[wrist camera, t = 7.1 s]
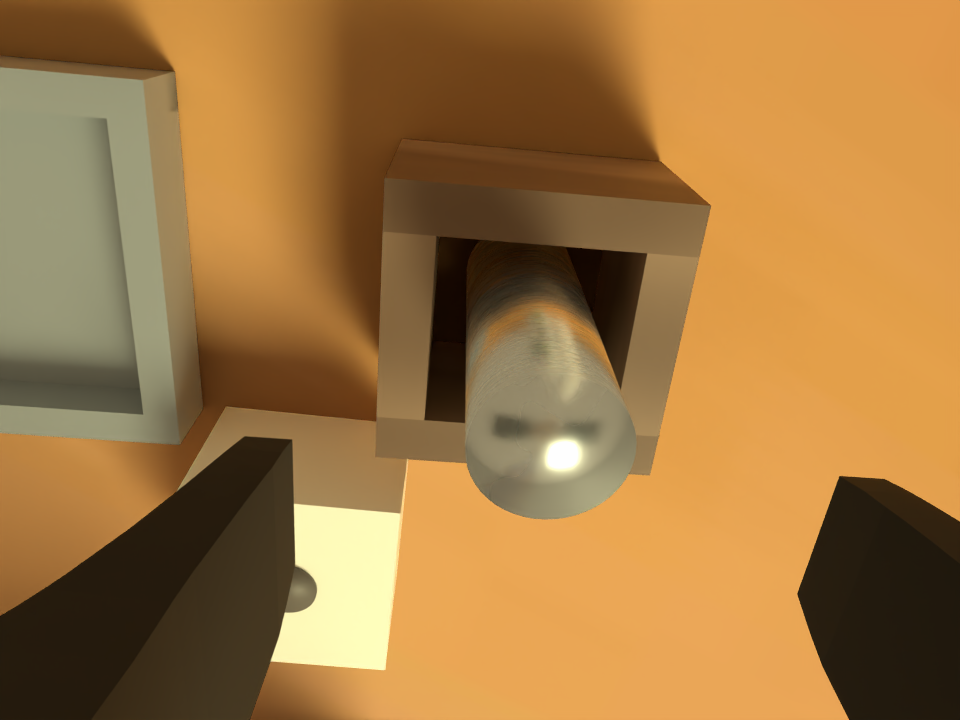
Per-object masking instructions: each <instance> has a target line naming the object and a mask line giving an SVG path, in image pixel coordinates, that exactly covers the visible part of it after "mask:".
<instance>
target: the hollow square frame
mask: <svg viewBox="0 0 960 720" xmlns="http://www.w3.org/2000/svg"><path fill="white" fill-rule="evenodd" d="M710 208H711V205H710V204H708V203H707V202H706V201H705V200H704V199H703V198H702V197H700V196H699V195H698V194H697V193H696V192H695V191H694V190H693V189H691V188H690V187H689V186H688V185H687V184H686V183H685V182H683V181H682V180H681V179H680V178H679V177H678V176H677V175H676V174H674V173H673V172H672V171H671V170H670V169H669V168H668V167H666V166H665V165H664V164H663V163H662V162H659V161H648V160H636V159H625V158H614V157H603V156H591V155H580V154H569V153H557V152H546V151H535V150H524V149H512V148H501V147H490V146H479V145H467V144H456V143H445V142H434V141H422V140H411V139H402V140H401V142H400V144H399V147H398V149H397V151H396V153H395V155H394V158H393V160H392V162H391V164H390V167H389V169H388V171H387V173H386V175H385V178H384V206H383V236H382V266H381V296H380V327H379V357H378V387H377V417H376V448H375V457H382V458H397V459H412V460H427V461H442V462H456V463H467V462H466V455H465V409H466V343H456V342H442V341H433V326H434V311H435V296H436V281H437V267H438V252H439V237H440V236H442V237H454V238H466V239H479V240H491V241H503V242H515V243H527V244H539V245H551V246H564V247H576V248H588V249H600V250H603V253H602V259H601V265H600V271H599V277H598V283H597V289H596V295H595V301H594V307H593V313H592V317H593V319H594V322H595V325H596V327H597V330H598V332H599V335H600V338H601V340H602V343H603V345H604V348H605V351H606V353H607V356H608V359H609V361H610V364H611V366H612V369H613V372H614V374H615V377H616V380H617V382H618V385H619V387H620V390H621V393H622V395H623V398H624V400H625V403H626V406H627V408H628V411H629V414H630V416H631V419H632V421H633V424H634V428H635V432H636V442H637V444H636V454H635V459H634V462H633V465H632V468H631V470H630V472H629V474H636V475H650V472H651V468H652V464H653V459H654V455H655V450H656V446H657V442H658V437H659V433H660V428H661V424H662V420H663V415H664V411H665V406H666V402H667V398H668V393H669V389H670V384H671V380H672V376H673V371H674V367H675V362H676V358H677V354H678V349H679V345H680V340H681V336H682V332H683V327H684V323H685V318H686V314H687V310H688V305H689V301H690V296H691V292H692V288H693V283H694V279H695V274H696V270H697V266H698V261H699V257H700V252H701V248H702V244H703V239H704V235H705V230H706V226H707V222H708V217H709V213H710Z"/></svg>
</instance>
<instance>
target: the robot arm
mask: <svg viewBox="0 0 960 720" xmlns="http://www.w3.org/2000/svg"><path fill="white" fill-rule="evenodd" d="M294 568H295V529H294V486H293V443H292V439H279V438H264V437H250V436H244V437H243V438H241V439H240V440H239V441H238V442H236V443H235V444H234V445H233V446H231V447H230V448H229V449H228V450H226V451H225V452H224V453H223V454H221V455H220V456H219V457H218V458H217V459H215V460H214V461H213V462H212V463H211V464H209V465H208V466H207V467H206V468H204V469H203V470H202V471H201V472H200V473H198V474H197V475H196V476H195V477H194V478H192V479H191V480H190V481H189V482H188V483H186V484H185V485H184V486H183V487H181V488H180V489H179V490H178V491H177V492H175V493H174V494H173V495H172V496H170V497H169V498H168V499H167V500H165V501H164V502H163V503H162V504H160V505H159V506H158V507H157V508H155V509H154V510H153V511H151V512H150V513H149V514H148V515H146V516H145V517H144V518H143V519H141V520H140V521H139V522H137V523H136V524H135V525H134V526H132V527H131V528H130V529H128V530H127V531H126V532H124V533H123V534H121V535H120V536H119V537H117V538H116V539H115V540H113V541H112V542H110V543H109V544H108V545H106V546H105V547H103V548H102V549H101V550H99V551H98V552H96V553H95V554H94V555H92V556H91V557H89V558H88V559H87V560H85V561H84V562H82V563H81V564H80V565H78V566H77V567H75V568H74V569H73V570H71V571H70V572H68V573H67V574H66V575H64V576H63V577H61V578H60V579H58V580H57V581H55V582H54V583H52V584H51V585H49V586H48V587H46V588H45V589H43V590H42V591H40V592H38V593H37V594H35V595H34V596H32V597H31V598H29V599H27V600H26V601H24V602H23V603H21V604H20V605H18V606H16V607H15V608H13V609H11V610H10V611H8V612H6V613H5V614H3V615H1V616H0V720H250V718H251V715H252V712H253V709H254V707H255V704H256V701H257V698H258V695H259V693H260V690H261V687H262V684H263V681H264V678H265V676H266V673H267V670H268V667H269V664H270V661H271V659H272V656H273V653H274V650H275V647H276V644H277V641H278V638H279V635H280V631H281V626H282V622H283V618H284V614H285V609H286V605H287V601H288V596H289V591H290V587H291V582H292V578H293V573H294ZM797 594H798V598H799V601H800V604H801V607H802V610H803V613H804V616H805V619H806V622H807V625H808V628H809V631H810V634H811V637H812V639H813V642H814V645H815V647H816V650H817V653H818V655H819V658H820V661H821V664H822V666H823V668H824V670H825V672H826V674H827V676H828V678H829V680H830V682H831V685H832V686H833V688H834V690H835V692H836V694H837V696H838V698H839V700H840V702H841V704H842V706H843V708H844V710H845V712H846V714H847V716H848V718H849V720H960V522H959V521H958V520H956V519H955V518H953V517H951V516H950V515H948V514H946V513H945V512H943V511H941V510H940V509H938V508H936V507H935V506H933V505H931V504H930V503H928V502H926V501H925V500H923V499H921V498H919V497H918V496H916V495H914V494H912V493H910V492H909V491H907V490H905V489H903V488H901V487H899V486H897V485H895V484H893V483H891V482H889V481H887V480H885V479H875V478H860V477H845V476H839V479H838V482H837V485H836V487H835V490H834V493H833V496H832V499H831V501H830V504H829V507H828V510H827V513H826V515H825V518H824V521H823V524H822V527H821V529H820V532H819V535H818V538H817V540H816V543H815V546H814V549H813V552H812V554H811V557H810V560H809V563H808V566H807V568H806V571H805V574H804V577H803V580H802V582H801V585H800V588H799V591H798V593H797Z"/></svg>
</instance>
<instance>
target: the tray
mask: <svg viewBox="0 0 960 720" xmlns="http://www.w3.org/2000/svg"><path fill="white" fill-rule="evenodd" d="M202 410H203V401H202V389H201V377H200V365H199V353H198V341H197V329H196V317H195V305H194V293H193V281H192V269H191V257H190V246H189V234H188V222H187V210H186V198H185V186H184V174H183V162H182V150H181V138H180V126H179V114H178V102H177V90H176V78H175V72H174V71H163V70H153V69H142V68H131V67H120V66H109V65H98V64H87V63H76V62H66V61H55V60H44V59H33V58H22V57H11V56H0V433H8V434H23V435H38V436H53V437H68V438H83V439H98V440H113V441H128V442H143V443H158V444H173V445H180V444H181V443H182V441H183V439H184V438H185V436H186V435H187V433H188V432H189V430H190V428H191V427H192V425H193V424H194V422H195V421H196V419H197V417H198V416H199V414H200V413H201V411H202Z"/></svg>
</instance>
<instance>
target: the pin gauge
mask: <svg viewBox="0 0 960 720" xmlns="http://www.w3.org/2000/svg"><path fill="white" fill-rule="evenodd" d="M636 444H637V442H636V432H635V428H634V424H633V421H632V419H631V416H630V414H629V411H628V408H627V406H626V403H625V400H624V398H623V395H622V393H621V390H620V387H619V385H618V382H617V380H616V377H615V374H614V372H613V369H612V366H611V364H610V361H609V359H608V356H607V353H606V351H605V348H604V345H603V343H602V340H601V338H600V335H599V332H598V330H597V327H596V325H595V322H594V319H593V317H592V314H591V311H590V309H589V306H588V304H587V301H586V298H585V296H584V293H583V290H582V288H581V285H580V283H579V280H578V277H577V275H576V272H575V270H574V267H573V264H572V262H571V259H570V256H569V254H568V252H567V249H566V248H565V247H564V246H551V245H539V244H527V243H515V242H503V241H491V240H479V241H478V243H477V244H476V245H475V247H474V248H473V250H472V252H471V254H470V257H469V260H468V264H467V283H466V409H465V455H466V462H467V467H468V470H469V473H470V475H471V477H472V479H473V481H474V483H475V484H476V486H477V487H478V488H479V490H480V491H481V492H482V493H483V494H484V495H485V496H486V497H487V498H488V499H489V500H490V501H492V502H493V503H494V504H496V505H497V506H499V507H501V508H502V509H504V510H506V511H509V512H511V513H513V514H516V515H520V516H523V517H528V518H533V519H559V518H566V517H570V516H574V515H578V514H580V513H583V512H586V511H588V510H590V509H592V508H594V507H596V506H598V505H599V504H601V503H602V502H604V501H605V500H606V499H608V498H609V497H610V496H611V495H613V494H614V492H615V491H616V490H617V489H618V488H619V487H620V486H621V485H622V483H623V482H624V481H625V479H626V478H627V476H628V474H629V472H630V470H631V468H632V465H633V462H634V459H635V454H636Z"/></svg>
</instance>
